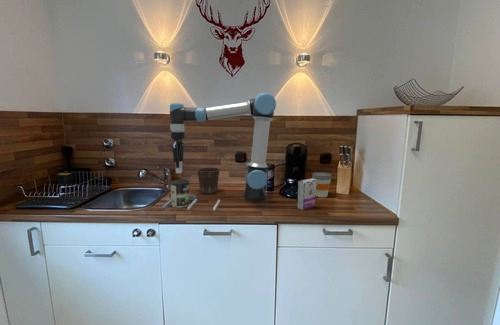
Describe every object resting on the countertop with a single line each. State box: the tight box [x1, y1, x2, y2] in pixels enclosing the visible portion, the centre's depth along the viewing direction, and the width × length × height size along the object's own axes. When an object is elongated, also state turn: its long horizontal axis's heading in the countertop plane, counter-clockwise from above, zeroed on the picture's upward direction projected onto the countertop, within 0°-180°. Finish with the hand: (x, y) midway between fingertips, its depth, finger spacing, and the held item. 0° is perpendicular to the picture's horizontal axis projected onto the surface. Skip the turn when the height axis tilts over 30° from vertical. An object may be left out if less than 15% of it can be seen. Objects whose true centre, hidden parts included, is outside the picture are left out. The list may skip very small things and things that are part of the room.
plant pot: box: [196, 167, 221, 195], centre depth 167 cm, size 16×16×16 cm
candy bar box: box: [297, 178, 317, 211], centre depth 137 cm, size 11×5×16 cm, turn 126°
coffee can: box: [170, 179, 190, 209], centre depth 139 cm, size 10×10×14 cm
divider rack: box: [161, 195, 221, 212], centre depth 140 cm, size 30×18×2 cm, turn 87°
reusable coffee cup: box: [311, 171, 332, 198], centre depth 161 cm, size 13×13×15 cm
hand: (179, 172), depth 137 cm, fingers open, 2 cm apart
